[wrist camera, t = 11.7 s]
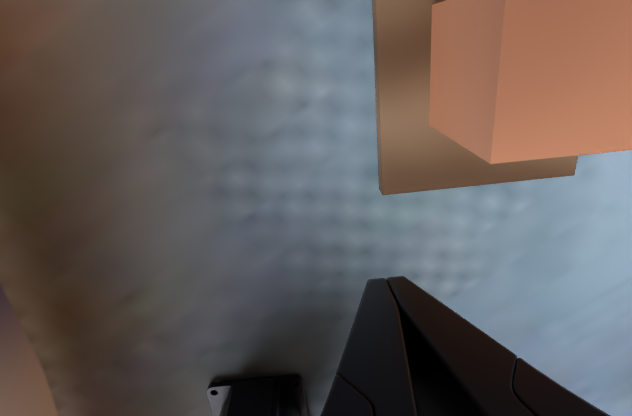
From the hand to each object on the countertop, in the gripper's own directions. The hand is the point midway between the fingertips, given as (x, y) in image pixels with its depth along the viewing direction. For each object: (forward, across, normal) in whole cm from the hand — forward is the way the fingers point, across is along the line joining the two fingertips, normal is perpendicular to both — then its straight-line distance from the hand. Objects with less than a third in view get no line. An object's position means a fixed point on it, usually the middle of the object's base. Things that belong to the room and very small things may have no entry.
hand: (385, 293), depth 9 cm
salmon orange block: (+11, -7, -4) cm, 14 cm away
